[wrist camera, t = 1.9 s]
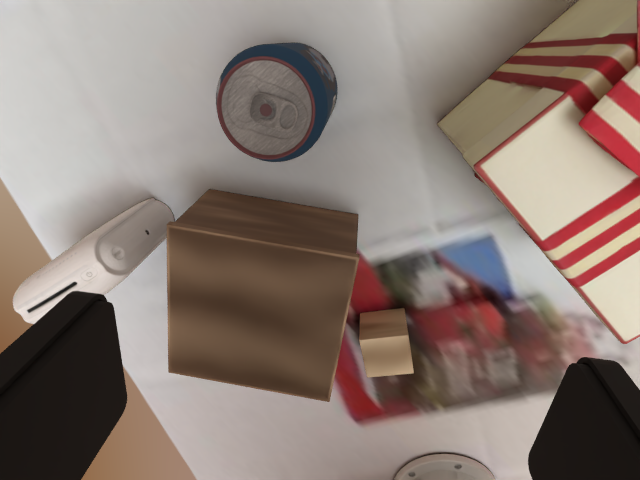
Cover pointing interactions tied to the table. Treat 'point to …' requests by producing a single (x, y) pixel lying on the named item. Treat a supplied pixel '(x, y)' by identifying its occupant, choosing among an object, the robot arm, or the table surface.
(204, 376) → the walnut box
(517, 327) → the table surface
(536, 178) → the gift box
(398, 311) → the oak cube
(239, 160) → the table surface
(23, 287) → the photo printer
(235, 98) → the soda can
